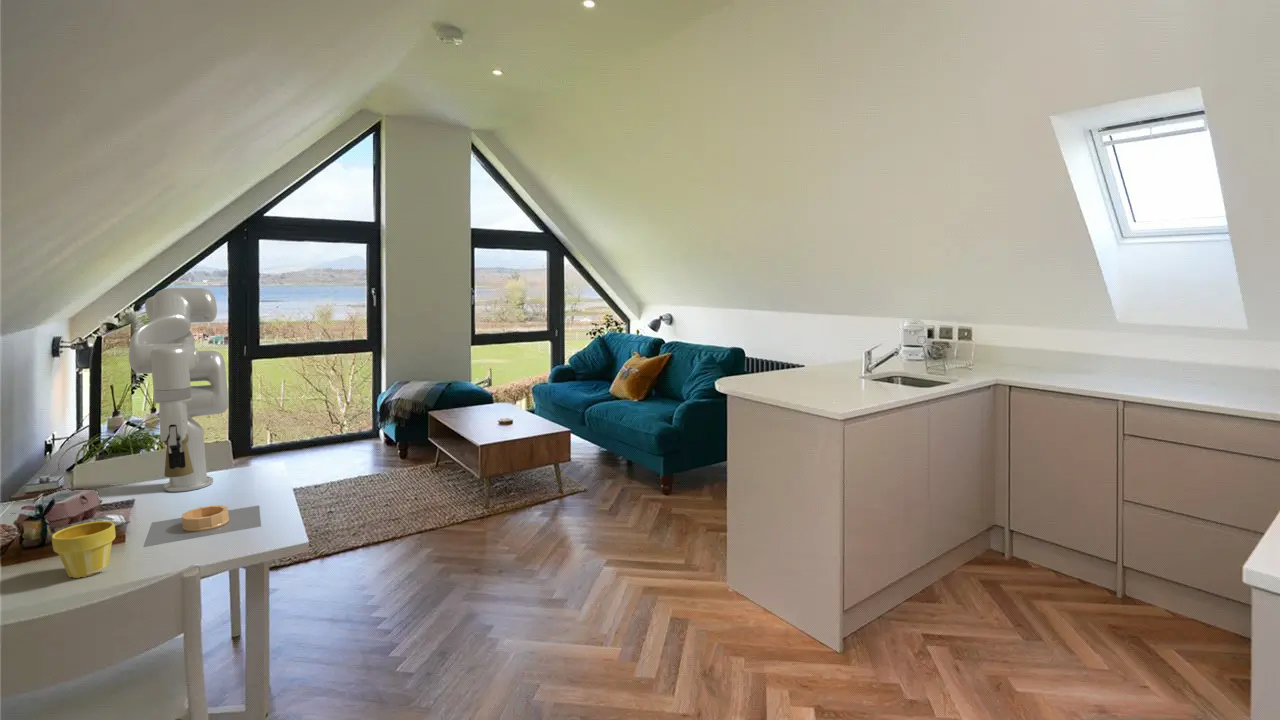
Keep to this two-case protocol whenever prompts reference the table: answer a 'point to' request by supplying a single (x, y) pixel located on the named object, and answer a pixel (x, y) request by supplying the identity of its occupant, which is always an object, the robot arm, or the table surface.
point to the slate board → (174, 531)
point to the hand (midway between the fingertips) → (178, 464)
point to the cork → (179, 471)
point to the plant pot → (84, 547)
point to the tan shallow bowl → (205, 518)
